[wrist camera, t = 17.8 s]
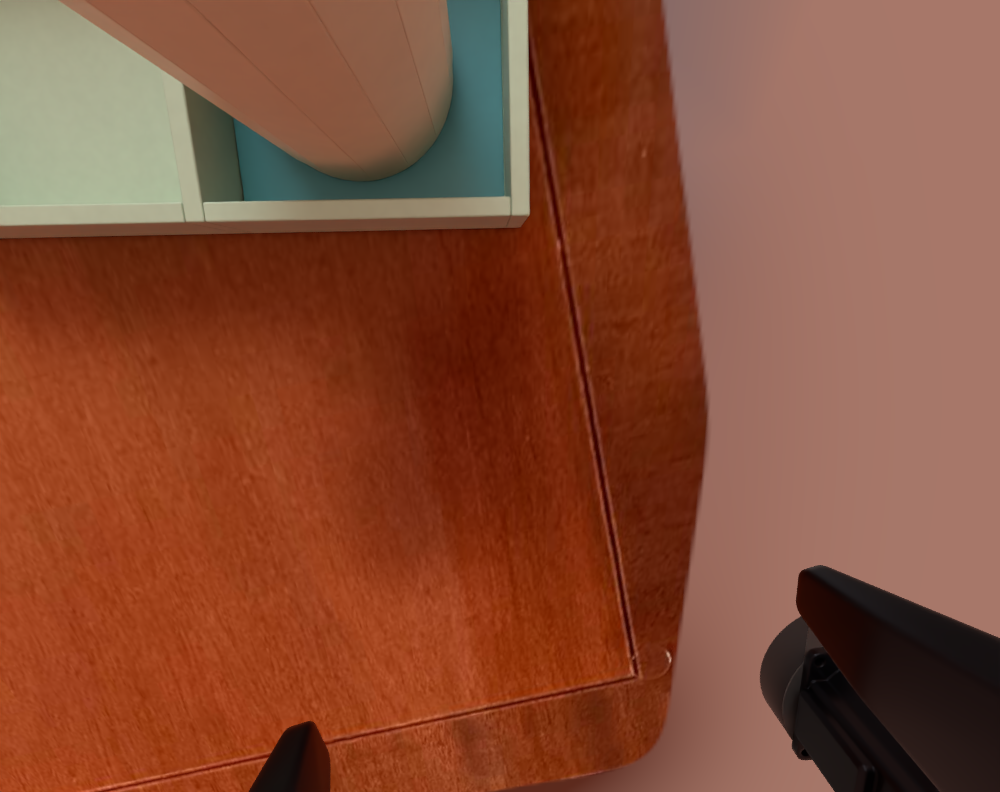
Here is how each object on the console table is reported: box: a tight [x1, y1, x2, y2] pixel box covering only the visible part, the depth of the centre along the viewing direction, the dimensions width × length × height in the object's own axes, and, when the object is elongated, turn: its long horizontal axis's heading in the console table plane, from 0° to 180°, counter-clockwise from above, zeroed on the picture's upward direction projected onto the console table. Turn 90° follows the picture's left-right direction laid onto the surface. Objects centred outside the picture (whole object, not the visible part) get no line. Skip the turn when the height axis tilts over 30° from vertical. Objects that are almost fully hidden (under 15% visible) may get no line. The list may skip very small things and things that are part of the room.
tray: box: [0, 0, 530, 238], centre depth 15 cm, size 21×11×4 cm, turn 91°
